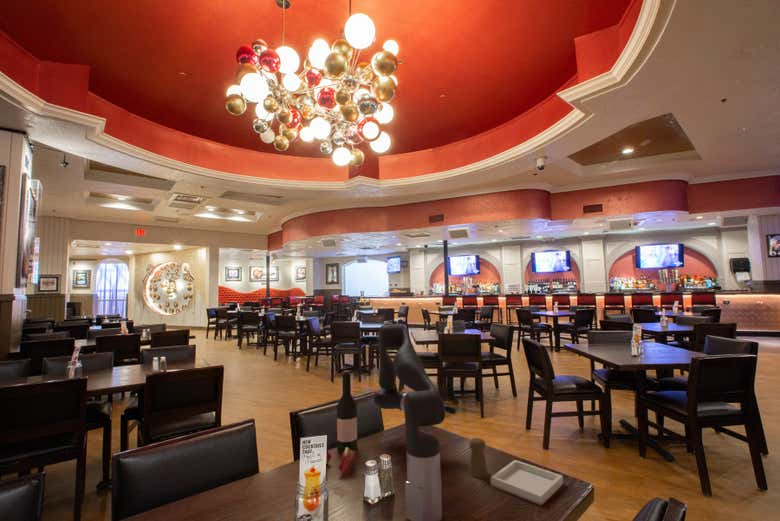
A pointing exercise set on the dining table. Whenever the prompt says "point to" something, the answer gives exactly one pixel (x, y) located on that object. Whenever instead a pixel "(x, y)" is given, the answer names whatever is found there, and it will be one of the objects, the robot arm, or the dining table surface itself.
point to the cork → (477, 458)
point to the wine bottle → (346, 417)
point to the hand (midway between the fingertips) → (448, 414)
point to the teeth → (344, 461)
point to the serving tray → (527, 482)
